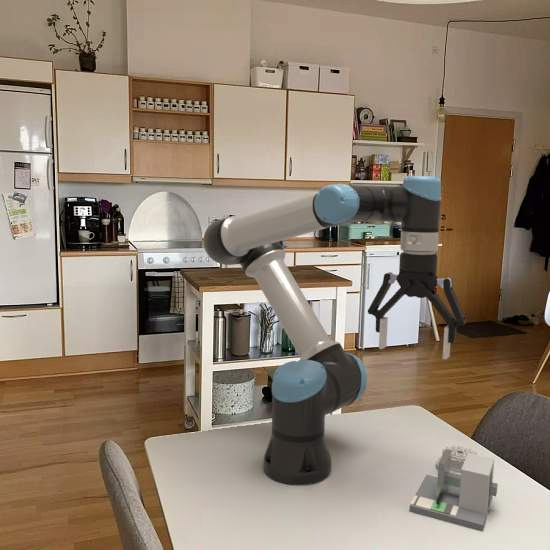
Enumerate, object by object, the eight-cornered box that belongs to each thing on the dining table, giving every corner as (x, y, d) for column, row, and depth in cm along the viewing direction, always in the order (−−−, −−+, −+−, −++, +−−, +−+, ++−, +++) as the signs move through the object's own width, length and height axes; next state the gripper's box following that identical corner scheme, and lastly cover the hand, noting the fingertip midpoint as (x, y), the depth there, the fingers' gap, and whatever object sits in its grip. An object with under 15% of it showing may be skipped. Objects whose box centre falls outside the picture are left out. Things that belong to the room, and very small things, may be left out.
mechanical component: (438, 479, 122) (486, 484, 120) (439, 460, 121) (487, 464, 120) (434, 458, 132) (478, 462, 130) (435, 440, 131) (479, 444, 129)
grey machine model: (432, 504, 108) (434, 469, 107) (443, 480, 117) (445, 448, 116) (491, 519, 103) (494, 483, 102) (498, 493, 112) (500, 460, 111)
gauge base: (409, 511, 109) (411, 467, 108) (426, 479, 121) (428, 440, 120) (482, 531, 103) (486, 485, 101) (492, 495, 115) (495, 454, 114)
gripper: (355, 249, 118) (351, 347, 122) (478, 258, 106) (470, 366, 109) (368, 247, 125) (364, 339, 128) (485, 254, 112) (478, 357, 115)
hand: (413, 352), depth 118 cm, fingers open, 13 cm apart
